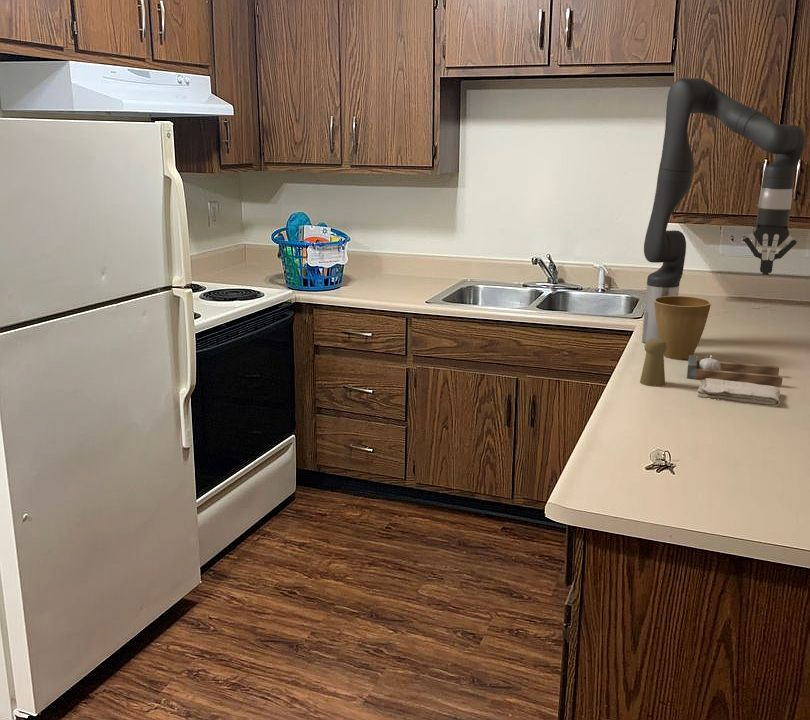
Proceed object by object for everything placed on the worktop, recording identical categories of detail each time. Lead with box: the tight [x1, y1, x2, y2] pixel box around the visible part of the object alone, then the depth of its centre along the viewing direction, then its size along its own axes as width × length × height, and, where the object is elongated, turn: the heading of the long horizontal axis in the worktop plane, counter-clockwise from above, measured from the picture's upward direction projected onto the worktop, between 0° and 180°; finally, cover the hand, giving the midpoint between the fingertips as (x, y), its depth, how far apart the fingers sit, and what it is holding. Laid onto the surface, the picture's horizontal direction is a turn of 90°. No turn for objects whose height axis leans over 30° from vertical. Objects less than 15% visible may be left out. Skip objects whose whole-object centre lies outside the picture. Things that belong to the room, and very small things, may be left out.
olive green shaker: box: [639, 339, 667, 387], centre depth 202 cm, size 6×6×11 cm
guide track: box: [686, 354, 783, 388], centre depth 209 cm, size 22×11×4 cm, turn 70°
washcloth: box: [697, 378, 781, 408], centre depth 193 cm, size 12×18×3 cm, turn 66°
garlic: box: [699, 354, 721, 370], centre depth 210 cm, size 6×5×5 cm
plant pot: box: [654, 295, 712, 361], centre depth 227 cm, size 15×15×16 cm
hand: (765, 274), depth 211 cm, fingers closed
